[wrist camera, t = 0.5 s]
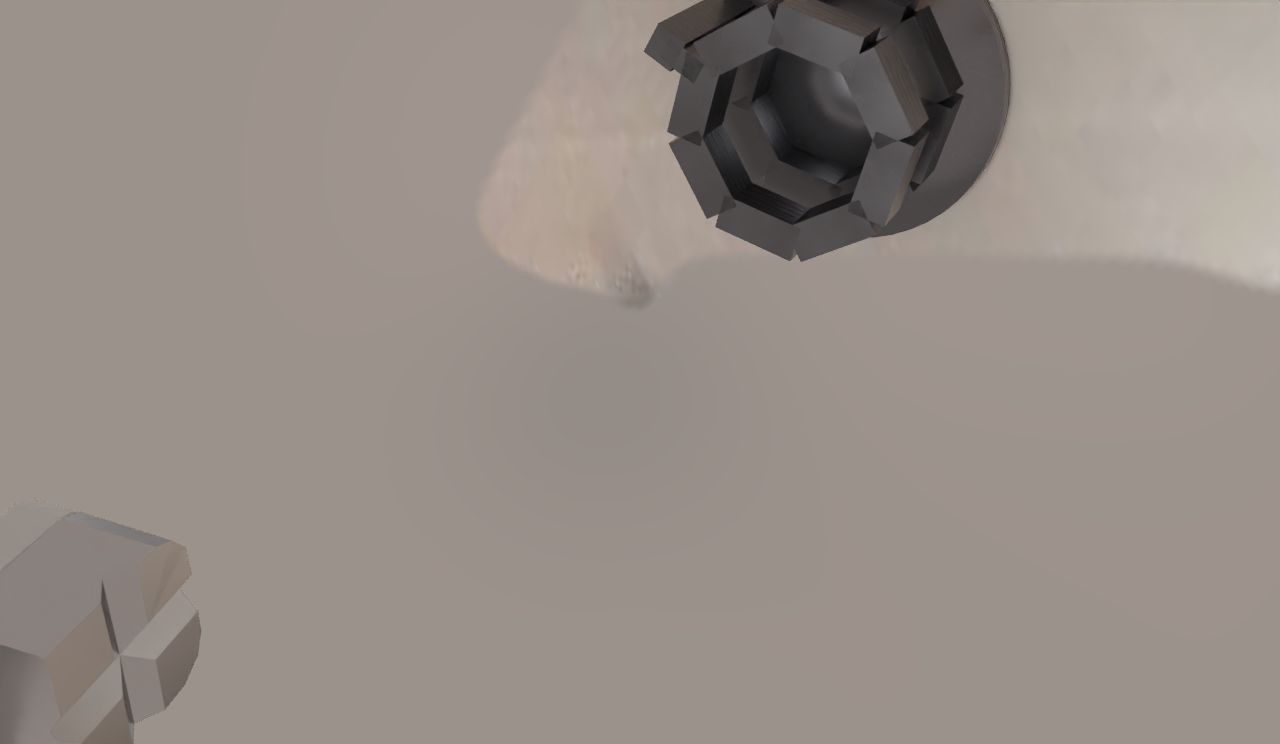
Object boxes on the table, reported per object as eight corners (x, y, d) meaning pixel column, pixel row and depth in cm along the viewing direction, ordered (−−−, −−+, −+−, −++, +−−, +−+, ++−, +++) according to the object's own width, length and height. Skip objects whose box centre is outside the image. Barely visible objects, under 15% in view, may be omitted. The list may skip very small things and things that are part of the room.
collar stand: (927, -142, 49) (861, -111, 43) (1061, 169, 52) (1016, 239, 46) (663, 6, 58) (576, 49, 52) (791, 266, 61) (724, 335, 55)
